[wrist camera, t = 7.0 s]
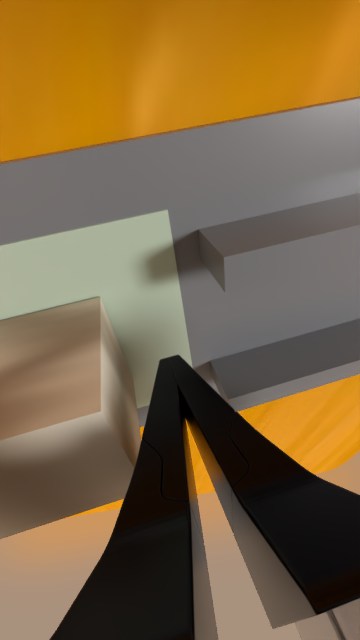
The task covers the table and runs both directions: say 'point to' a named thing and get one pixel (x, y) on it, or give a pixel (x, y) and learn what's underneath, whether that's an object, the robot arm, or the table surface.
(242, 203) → the twin rail plate
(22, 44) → the table surface
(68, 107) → the table surface
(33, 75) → the table surface
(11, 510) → the block
